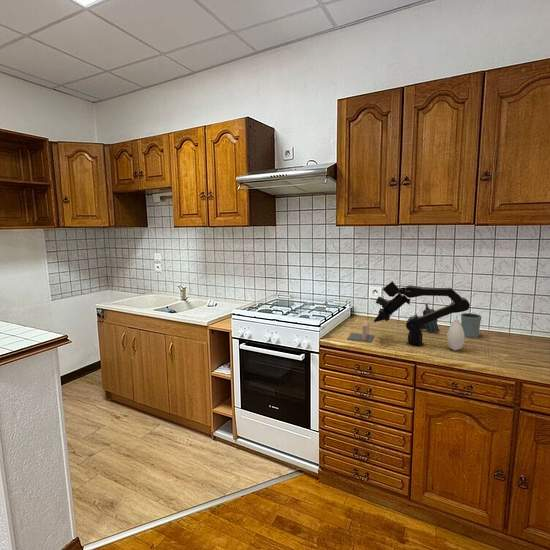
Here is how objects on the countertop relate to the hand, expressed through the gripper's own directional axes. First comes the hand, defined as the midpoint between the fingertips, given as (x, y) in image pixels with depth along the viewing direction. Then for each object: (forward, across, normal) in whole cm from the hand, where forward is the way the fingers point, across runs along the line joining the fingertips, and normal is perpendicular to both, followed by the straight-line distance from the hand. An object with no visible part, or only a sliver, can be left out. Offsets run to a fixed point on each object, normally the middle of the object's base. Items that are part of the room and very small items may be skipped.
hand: (374, 321), depth 192 cm
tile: (+10, 0, +4) cm, 11 cm away
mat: (+12, 0, +2) cm, 12 cm away
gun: (-11, -26, +26) cm, 39 cm away
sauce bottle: (-21, +2, +36) cm, 41 cm away
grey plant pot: (-27, -26, +43) cm, 57 cm away
